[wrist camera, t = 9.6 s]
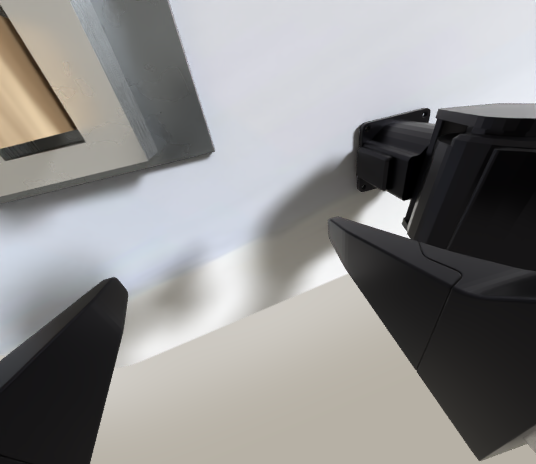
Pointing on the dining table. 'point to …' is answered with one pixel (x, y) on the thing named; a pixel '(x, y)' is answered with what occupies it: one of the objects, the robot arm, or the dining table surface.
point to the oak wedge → (26, 94)
